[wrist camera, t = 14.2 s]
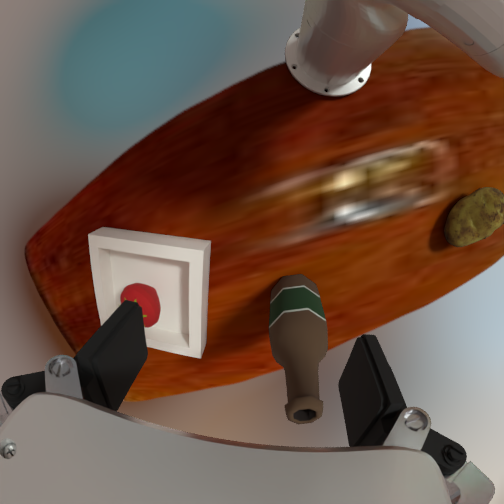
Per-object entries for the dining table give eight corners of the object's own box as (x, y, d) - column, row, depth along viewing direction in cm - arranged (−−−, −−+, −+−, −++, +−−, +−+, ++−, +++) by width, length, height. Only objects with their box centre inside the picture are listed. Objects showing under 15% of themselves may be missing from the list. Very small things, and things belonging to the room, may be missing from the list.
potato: (433, 199, 36) (460, 210, 29) (482, 178, 33) (511, 185, 26) (441, 245, 38) (466, 262, 31) (488, 221, 36) (515, 233, 28)
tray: (102, 226, 43) (88, 234, 38) (211, 240, 42) (203, 250, 37) (113, 321, 50) (103, 333, 45) (206, 343, 49) (200, 358, 44)
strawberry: (154, 313, 46) (130, 346, 37) (130, 279, 44) (100, 307, 35) (178, 301, 45) (156, 335, 35) (153, 265, 43) (124, 292, 34)
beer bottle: (265, 308, 45) (253, 431, 22) (277, 266, 42) (275, 383, 20) (309, 318, 45) (326, 439, 22) (324, 277, 42) (361, 394, 20)
